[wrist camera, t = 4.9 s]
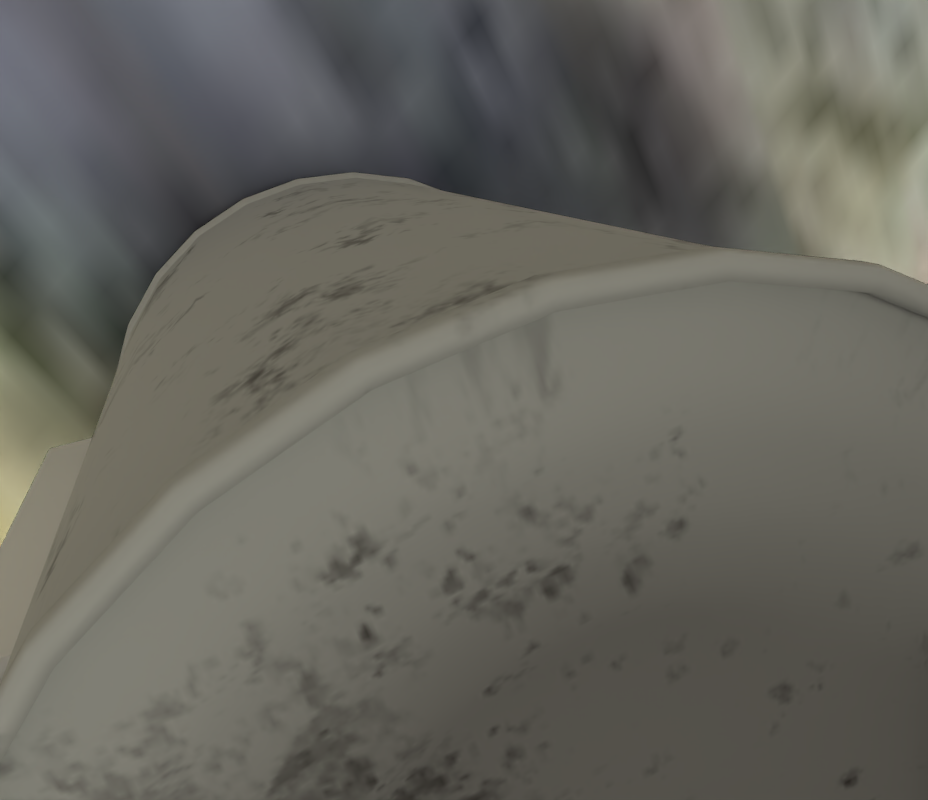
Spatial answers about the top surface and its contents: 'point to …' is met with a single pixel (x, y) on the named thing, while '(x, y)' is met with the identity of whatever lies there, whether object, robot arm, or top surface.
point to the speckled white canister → (488, 520)
